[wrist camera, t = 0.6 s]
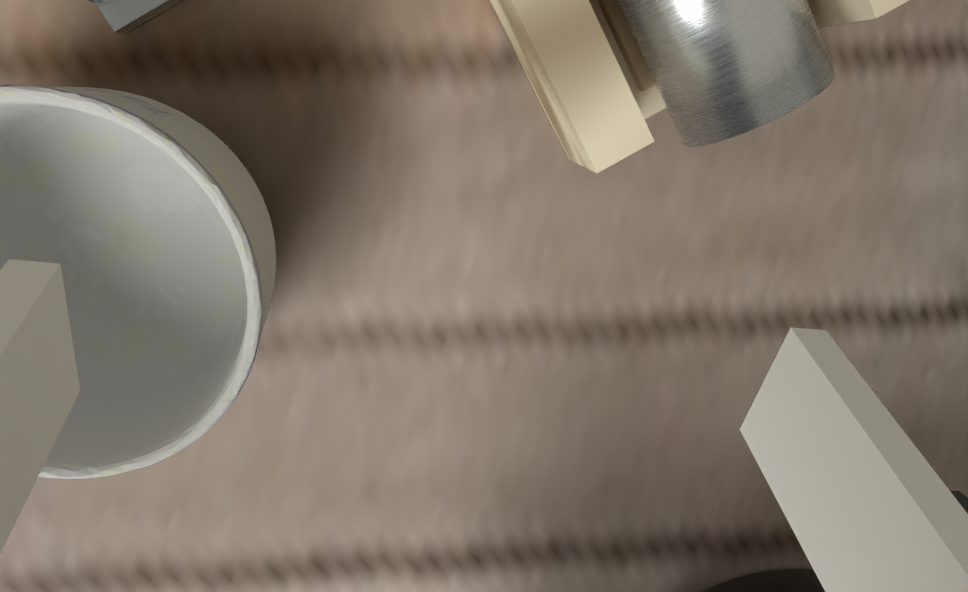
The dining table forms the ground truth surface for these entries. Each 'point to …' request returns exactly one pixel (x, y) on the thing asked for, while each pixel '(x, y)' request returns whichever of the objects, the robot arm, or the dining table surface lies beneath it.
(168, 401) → the teacup
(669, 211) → the dining table surface
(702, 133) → the axle
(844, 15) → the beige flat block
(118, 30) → the v block
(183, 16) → the dining table surface
